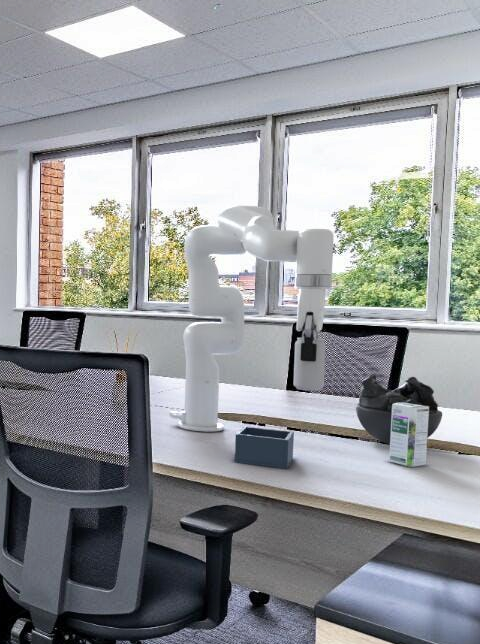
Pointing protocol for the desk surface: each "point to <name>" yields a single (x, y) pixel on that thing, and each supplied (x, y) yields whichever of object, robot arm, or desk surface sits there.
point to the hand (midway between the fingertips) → (309, 359)
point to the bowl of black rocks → (379, 400)
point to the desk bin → (264, 447)
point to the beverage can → (309, 368)
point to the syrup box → (409, 434)
